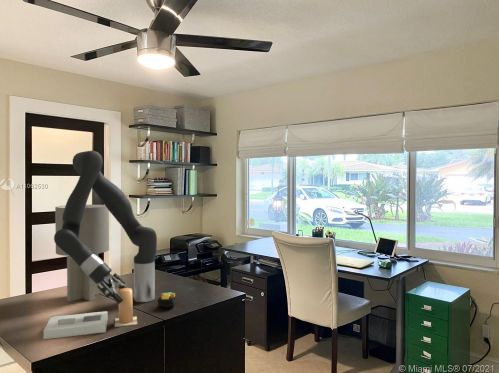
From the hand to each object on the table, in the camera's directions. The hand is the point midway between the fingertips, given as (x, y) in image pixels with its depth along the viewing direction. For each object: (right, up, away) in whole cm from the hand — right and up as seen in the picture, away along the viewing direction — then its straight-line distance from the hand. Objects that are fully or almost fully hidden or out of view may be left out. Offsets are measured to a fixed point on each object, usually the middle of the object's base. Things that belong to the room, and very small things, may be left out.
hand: (125, 298), depth 147 cm
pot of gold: (+12, -9, +20) cm, 25 cm away
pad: (0, -9, 0) cm, 9 cm away
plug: (0, -9, 0) cm, 9 cm away
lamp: (-30, -9, +31) cm, 44 cm away
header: (-16, -9, -6) cm, 19 cm away
